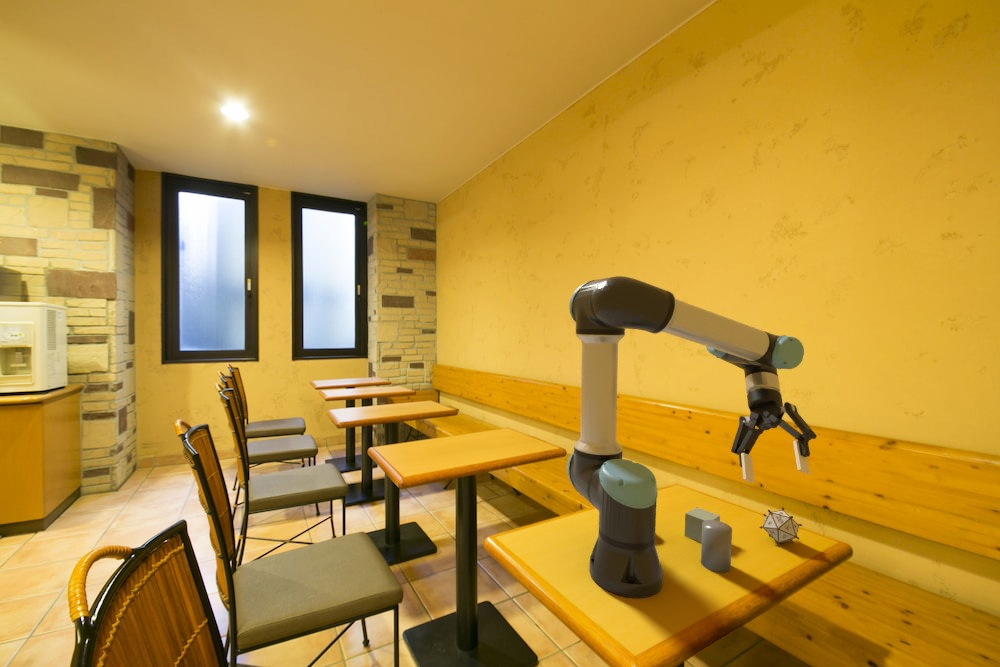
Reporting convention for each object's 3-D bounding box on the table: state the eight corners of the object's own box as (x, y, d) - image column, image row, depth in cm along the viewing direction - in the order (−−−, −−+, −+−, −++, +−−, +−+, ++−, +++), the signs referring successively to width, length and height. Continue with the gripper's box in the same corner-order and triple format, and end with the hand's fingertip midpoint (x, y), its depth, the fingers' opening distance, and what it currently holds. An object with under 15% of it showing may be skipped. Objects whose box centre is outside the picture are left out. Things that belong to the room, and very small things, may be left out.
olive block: (684, 536, 109) (685, 513, 109) (696, 529, 112) (696, 507, 112) (708, 546, 104) (708, 522, 104) (719, 538, 108) (720, 515, 108)
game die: (788, 559, 105) (815, 540, 99) (754, 543, 107) (778, 523, 101) (783, 528, 112) (807, 508, 106) (750, 513, 114) (772, 493, 108)
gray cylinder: (695, 563, 96) (697, 524, 96) (708, 554, 100) (709, 517, 100) (723, 576, 92) (724, 535, 91) (735, 566, 95) (736, 527, 95)
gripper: (823, 383, 99) (843, 472, 88) (733, 412, 120) (740, 488, 108) (800, 371, 98) (817, 461, 86) (713, 403, 118) (718, 479, 107)
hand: (774, 476), depth 97 cm, fingers open, 13 cm apart
